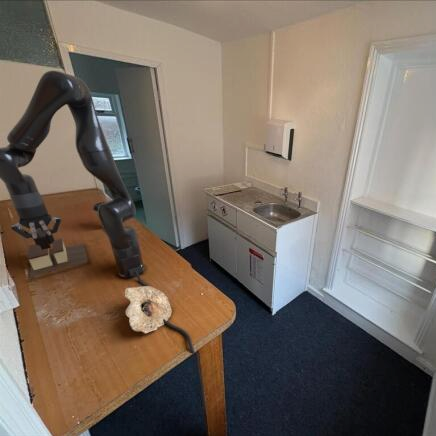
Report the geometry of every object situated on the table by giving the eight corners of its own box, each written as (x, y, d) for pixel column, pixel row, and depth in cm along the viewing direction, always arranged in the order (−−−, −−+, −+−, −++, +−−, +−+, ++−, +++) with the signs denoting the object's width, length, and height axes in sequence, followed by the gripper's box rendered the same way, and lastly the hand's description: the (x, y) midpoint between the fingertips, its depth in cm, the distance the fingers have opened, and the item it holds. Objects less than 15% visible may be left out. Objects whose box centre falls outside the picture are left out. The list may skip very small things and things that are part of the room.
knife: (50, 247, 90) (44, 233, 87) (41, 249, 88) (35, 235, 86) (49, 227, 103) (44, 214, 101) (42, 229, 102) (36, 215, 99)
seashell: (175, 330, 84) (181, 318, 81) (128, 349, 73) (133, 336, 69) (158, 290, 92) (163, 278, 89) (114, 302, 81) (118, 288, 78)
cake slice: (67, 261, 102) (63, 249, 100) (57, 263, 100) (52, 252, 98) (65, 249, 110) (61, 238, 108) (56, 251, 108) (52, 240, 106)
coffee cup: (115, 223, 140) (109, 200, 133) (124, 228, 135) (118, 204, 129) (96, 229, 132) (88, 204, 126) (105, 234, 128) (97, 209, 121)
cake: (52, 265, 99) (47, 253, 97) (33, 270, 96) (28, 258, 93) (51, 252, 107) (47, 241, 104) (34, 257, 103) (29, 245, 101)
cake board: (89, 263, 104) (88, 261, 104) (31, 280, 93) (30, 277, 92) (84, 245, 117) (83, 242, 116) (32, 257, 105) (31, 254, 105)
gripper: (-2, 211, 78) (19, 254, 85) (55, 203, 87) (70, 242, 94) (1, 204, 83) (21, 245, 90) (54, 197, 92) (69, 235, 99)
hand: (46, 243), depth 92 cm, fingers closed on knife, 2 cm apart
